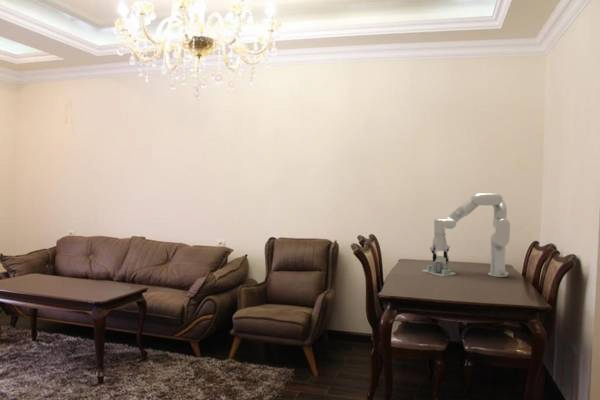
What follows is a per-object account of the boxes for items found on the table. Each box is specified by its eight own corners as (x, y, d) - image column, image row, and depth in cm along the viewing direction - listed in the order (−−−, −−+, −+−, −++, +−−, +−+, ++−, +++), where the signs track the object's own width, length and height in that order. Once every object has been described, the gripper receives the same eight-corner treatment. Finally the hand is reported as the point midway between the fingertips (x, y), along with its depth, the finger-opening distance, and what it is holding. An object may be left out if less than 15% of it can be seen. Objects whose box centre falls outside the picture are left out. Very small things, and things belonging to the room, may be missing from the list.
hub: (445, 271, 340) (446, 263, 340) (438, 271, 338) (438, 263, 338) (439, 269, 347) (439, 261, 347) (432, 270, 344) (432, 262, 344)
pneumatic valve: (448, 269, 356) (448, 254, 356) (432, 269, 359) (432, 253, 359) (447, 268, 361) (448, 253, 361) (432, 267, 364) (432, 252, 364)
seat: (455, 274, 336) (455, 267, 336) (439, 275, 330) (440, 268, 330) (437, 270, 354) (437, 262, 354) (422, 271, 349) (422, 263, 349)
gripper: (445, 234, 348) (446, 256, 349) (426, 235, 342) (427, 258, 342) (452, 235, 341) (452, 258, 342) (433, 236, 335) (433, 260, 335)
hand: (440, 258), depth 342 cm, fingers open, 9 cm apart
